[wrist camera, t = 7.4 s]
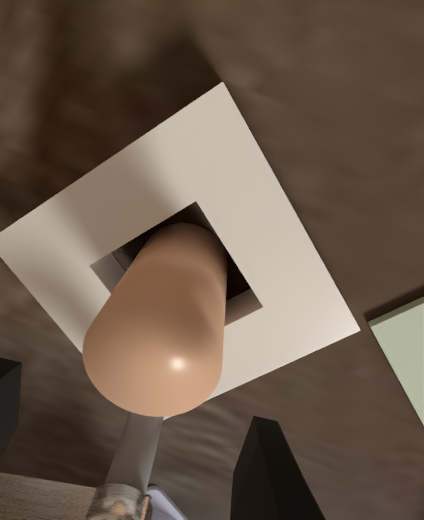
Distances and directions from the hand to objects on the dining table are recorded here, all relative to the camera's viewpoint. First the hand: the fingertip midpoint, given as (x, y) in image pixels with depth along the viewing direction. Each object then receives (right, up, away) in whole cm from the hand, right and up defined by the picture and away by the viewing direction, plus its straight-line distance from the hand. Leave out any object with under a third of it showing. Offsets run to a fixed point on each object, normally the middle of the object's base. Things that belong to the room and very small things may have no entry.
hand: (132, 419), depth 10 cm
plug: (+1, +4, +10) cm, 10 cm away
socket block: (+1, +4, +10) cm, 10 cm away
